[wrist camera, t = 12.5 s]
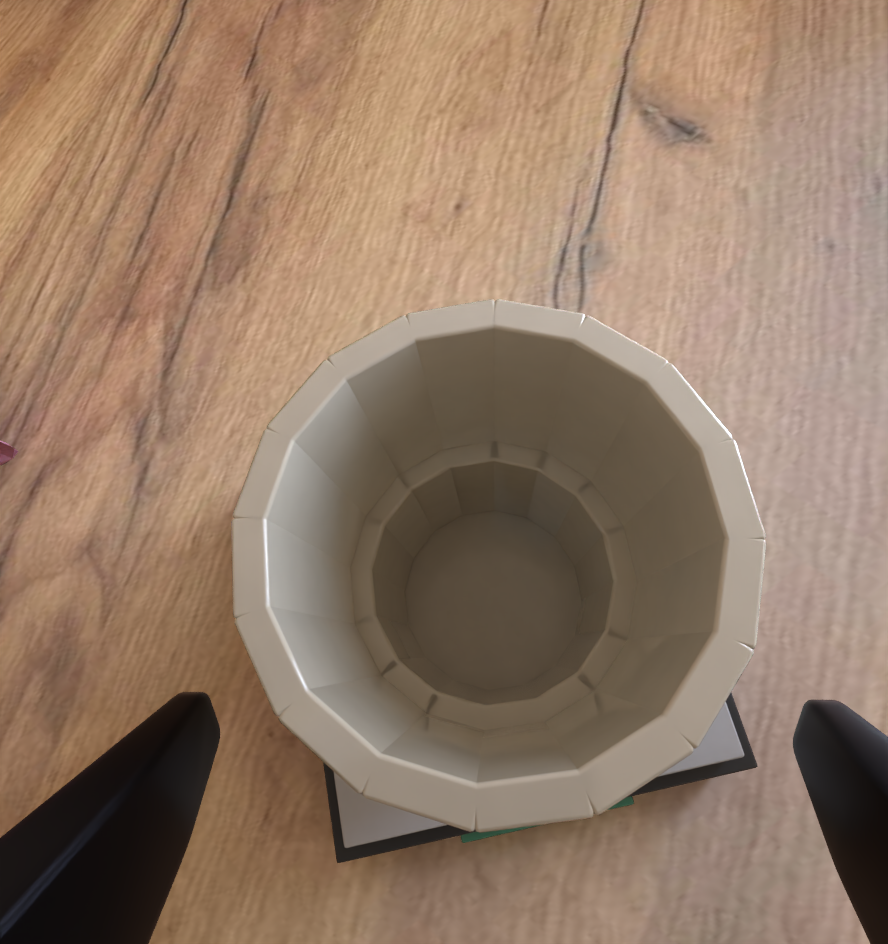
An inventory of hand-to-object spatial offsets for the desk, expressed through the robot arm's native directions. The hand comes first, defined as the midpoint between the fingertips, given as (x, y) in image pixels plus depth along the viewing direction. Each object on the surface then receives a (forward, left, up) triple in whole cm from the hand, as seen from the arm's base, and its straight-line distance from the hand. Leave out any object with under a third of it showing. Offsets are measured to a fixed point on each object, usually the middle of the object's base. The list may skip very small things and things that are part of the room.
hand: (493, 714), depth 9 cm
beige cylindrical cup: (+2, 0, -8) cm, 8 cm away
